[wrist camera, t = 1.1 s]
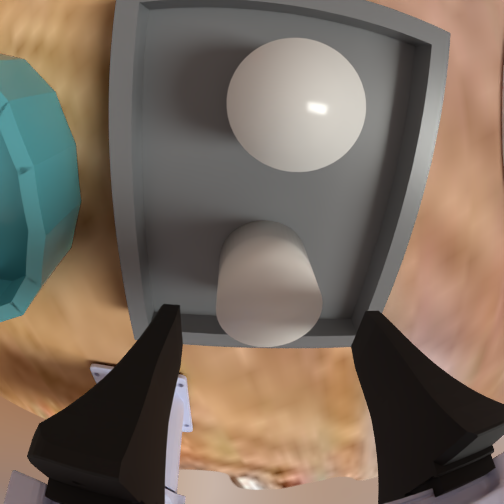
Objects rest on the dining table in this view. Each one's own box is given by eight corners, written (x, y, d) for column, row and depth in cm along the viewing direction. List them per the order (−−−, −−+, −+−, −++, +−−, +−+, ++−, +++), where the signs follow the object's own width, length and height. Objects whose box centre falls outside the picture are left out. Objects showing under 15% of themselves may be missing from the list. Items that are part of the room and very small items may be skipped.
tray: (356, 319, 20) (367, 346, 18) (143, 311, 19) (134, 339, 17) (422, 36, 11) (450, 33, 9) (136, -3, 10) (118, -16, 8)
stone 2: (297, 294, 18) (310, 347, 14) (218, 291, 17) (215, 345, 14) (312, 223, 15) (333, 268, 12) (221, 217, 15) (217, 263, 11)
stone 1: (324, 152, 13) (354, 179, 10) (226, 143, 13) (221, 166, 10) (337, 59, 11) (373, 53, 8) (234, 45, 11) (232, 30, 7)
